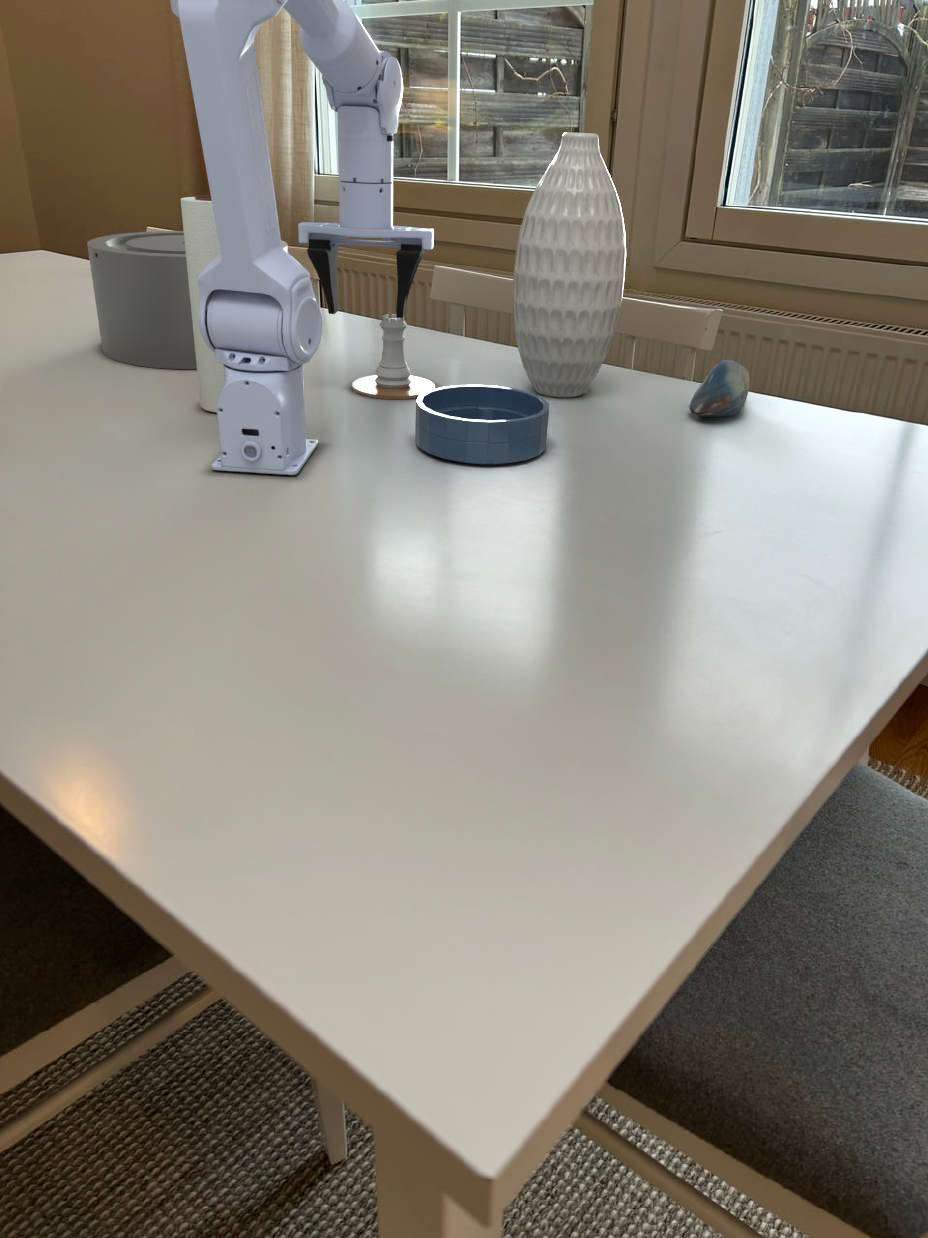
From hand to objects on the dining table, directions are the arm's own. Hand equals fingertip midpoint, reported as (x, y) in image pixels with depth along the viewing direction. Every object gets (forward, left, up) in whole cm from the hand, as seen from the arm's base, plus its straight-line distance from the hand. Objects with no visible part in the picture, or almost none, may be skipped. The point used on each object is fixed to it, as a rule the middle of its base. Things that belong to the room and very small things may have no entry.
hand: (367, 314), depth 107 cm
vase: (+7, -22, -10) cm, 25 cm away
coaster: (+4, -2, -9) cm, 11 cm away
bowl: (-16, -14, -9) cm, 23 cm away
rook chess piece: (+4, -2, -9) cm, 10 cm away
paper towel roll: (-8, +14, -10) cm, 18 cm away
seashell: (+1, -41, -10) cm, 42 cm away
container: (+19, +27, -10) cm, 34 cm away
